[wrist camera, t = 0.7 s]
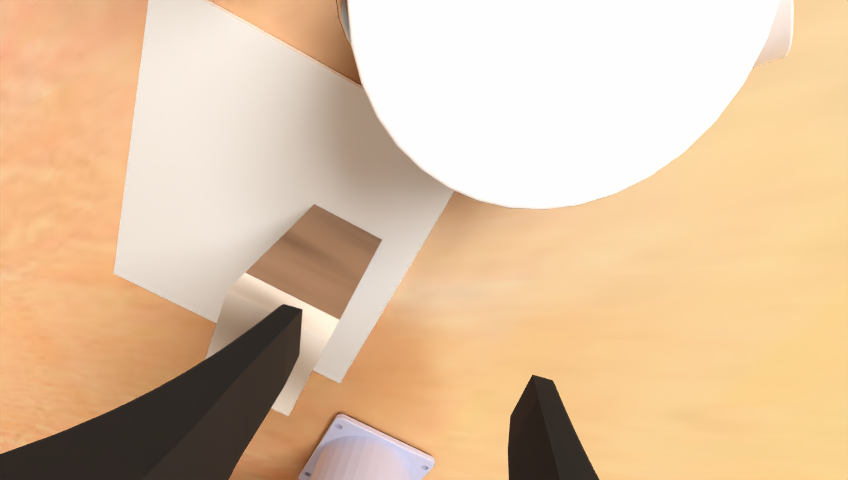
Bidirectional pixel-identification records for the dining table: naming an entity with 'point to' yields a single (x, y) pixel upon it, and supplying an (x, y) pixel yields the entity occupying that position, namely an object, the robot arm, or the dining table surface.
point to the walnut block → (300, 289)
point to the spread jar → (555, 86)
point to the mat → (258, 168)
